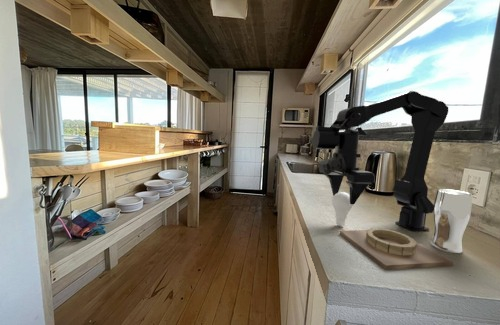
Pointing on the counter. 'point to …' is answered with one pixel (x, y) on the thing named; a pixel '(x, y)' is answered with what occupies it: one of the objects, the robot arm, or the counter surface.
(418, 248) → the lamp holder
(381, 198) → the counter surface
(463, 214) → the beer glass
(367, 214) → the counter surface
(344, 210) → the lightbulb
